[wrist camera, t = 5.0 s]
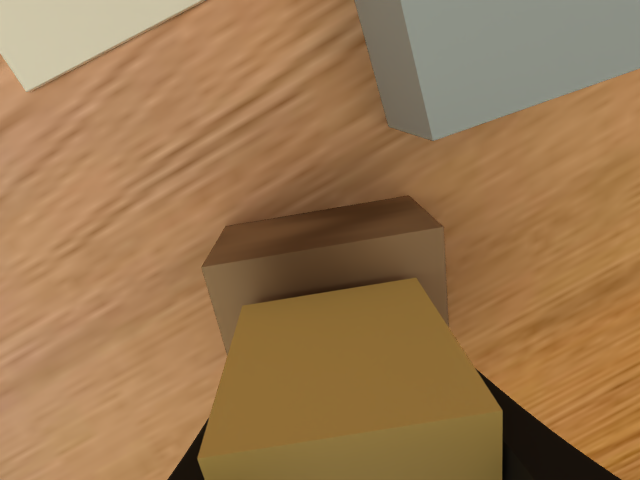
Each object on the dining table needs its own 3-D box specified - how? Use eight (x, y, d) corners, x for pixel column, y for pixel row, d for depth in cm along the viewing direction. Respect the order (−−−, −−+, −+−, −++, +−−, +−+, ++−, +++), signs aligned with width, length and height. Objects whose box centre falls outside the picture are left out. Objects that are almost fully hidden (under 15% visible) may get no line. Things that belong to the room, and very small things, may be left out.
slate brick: (503, -94, 12) (640, -226, 7) (526, 77, 13) (649, 65, 9) (345, -32, 12) (373, -117, 7) (388, 126, 14) (433, 141, 9)
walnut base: (407, 194, 15) (443, 226, 11) (419, 346, 17) (453, 415, 13) (226, 224, 15) (201, 267, 11) (265, 371, 17) (254, 447, 13)
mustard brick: (416, 277, 11) (502, 410, 6) (427, 414, 13) (501, 599, 8) (242, 305, 11) (197, 459, 6) (276, 438, 13) (260, 636, 8)
